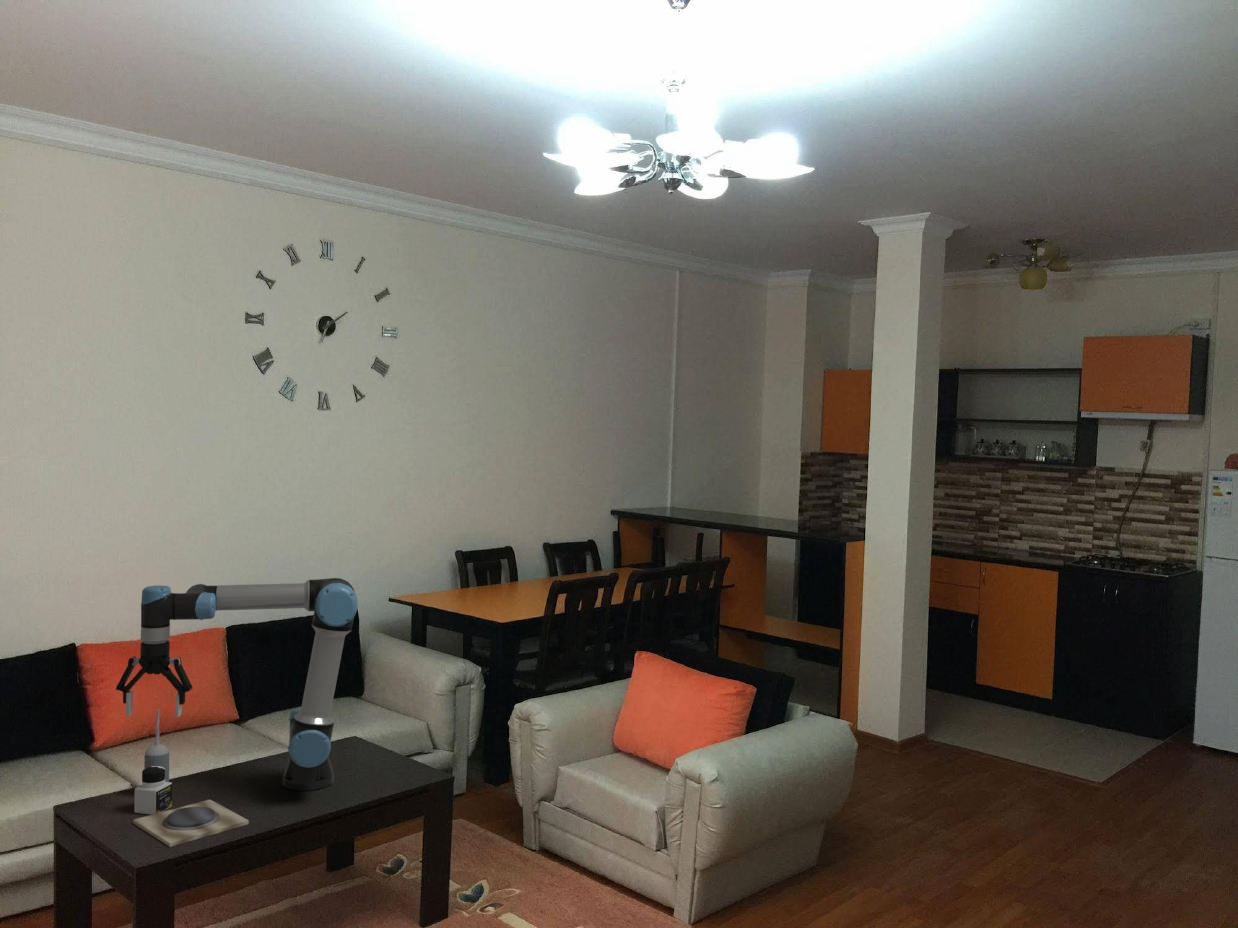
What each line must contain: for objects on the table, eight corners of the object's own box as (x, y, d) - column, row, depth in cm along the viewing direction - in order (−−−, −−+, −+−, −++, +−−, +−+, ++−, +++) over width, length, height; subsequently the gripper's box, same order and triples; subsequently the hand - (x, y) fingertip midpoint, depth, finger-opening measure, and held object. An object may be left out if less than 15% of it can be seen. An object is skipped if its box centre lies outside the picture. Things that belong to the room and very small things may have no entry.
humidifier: (174, 787, 310) (175, 705, 309) (168, 797, 302) (169, 713, 301) (145, 788, 308) (146, 706, 307) (138, 798, 300) (139, 714, 299)
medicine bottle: (156, 815, 288) (156, 773, 288) (133, 812, 290) (134, 770, 289) (172, 806, 295) (172, 765, 295) (150, 803, 297) (150, 762, 296)
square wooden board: (210, 802, 299) (210, 794, 299) (248, 823, 284) (248, 814, 284) (133, 823, 282) (133, 814, 282) (169, 846, 268) (170, 837, 268)
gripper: (204, 639, 295) (203, 712, 296) (115, 637, 294) (114, 710, 294) (195, 644, 288) (194, 719, 288) (104, 642, 286) (102, 718, 287)
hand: (153, 715), depth 291 cm, fingers open, 13 cm apart
